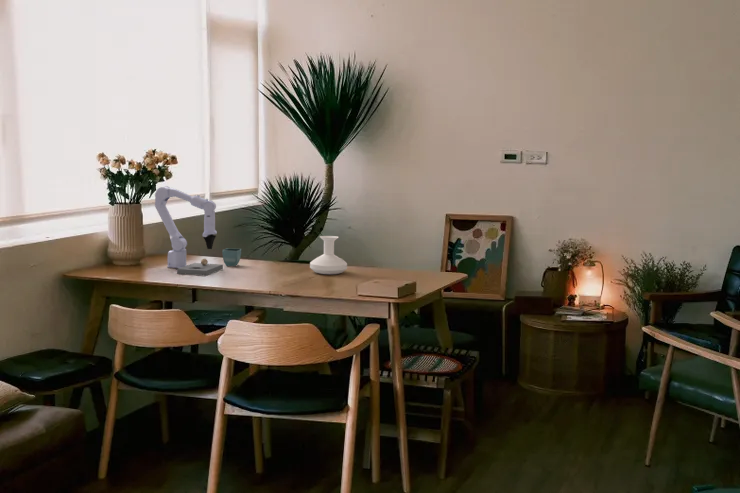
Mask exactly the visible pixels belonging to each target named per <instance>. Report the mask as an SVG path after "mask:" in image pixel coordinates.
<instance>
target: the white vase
mask: <svg viewBox="0 0 740 493" xmlns="http://www.w3.org/2000/svg"><path fill="white" fill-rule="evenodd" d="M319 238H320V239H321V240H322V241H323V254H321V255H319V256H316V258H314V259H313V260H311V261H310V262H309V269H311V270H312V271H313V272H314V273H316V274H320V275H339V274H341V273H344V272H345V271H346V270H347V269H348V263H347V261H345V260H344V259H343V258H341V257H339V256H338V255H336V254H335V241H336V240H337V239H339V236H337V235H336V236H335V235H320V236H319Z"/></svg>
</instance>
